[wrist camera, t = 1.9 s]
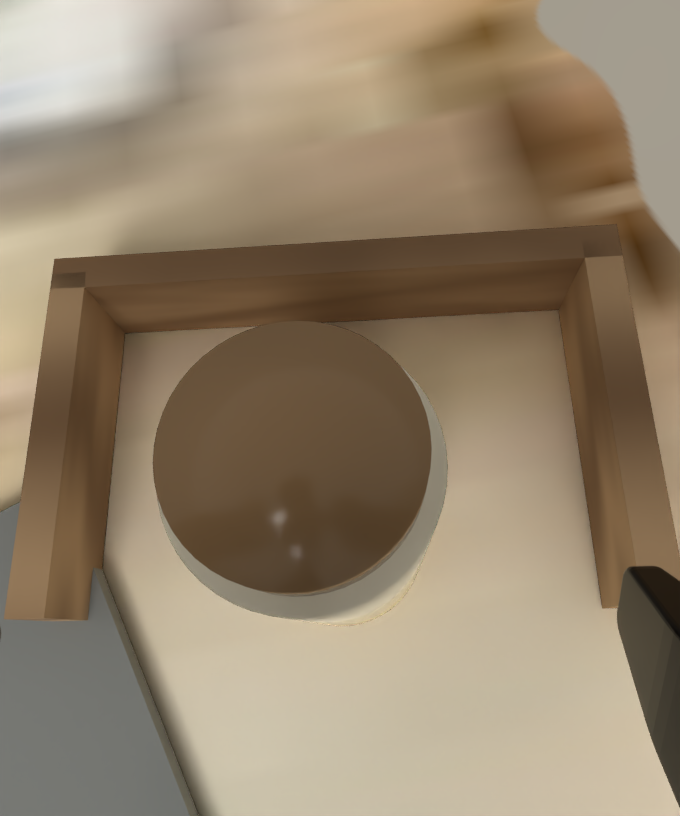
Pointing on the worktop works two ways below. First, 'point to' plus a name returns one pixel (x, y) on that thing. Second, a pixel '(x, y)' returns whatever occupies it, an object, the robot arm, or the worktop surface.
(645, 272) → the worktop surface
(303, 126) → the worktop surface
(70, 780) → the pad
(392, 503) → the jar
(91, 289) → the wooden u-shaped frame
